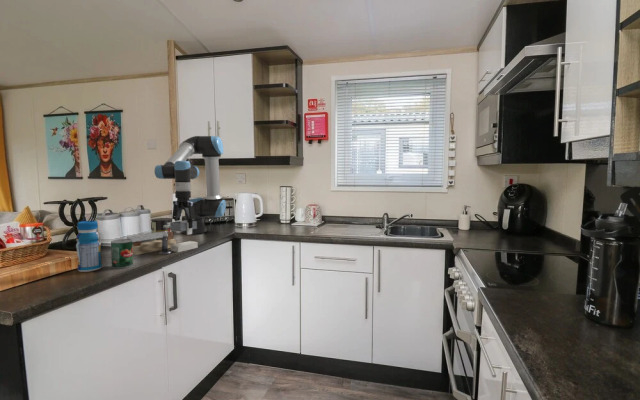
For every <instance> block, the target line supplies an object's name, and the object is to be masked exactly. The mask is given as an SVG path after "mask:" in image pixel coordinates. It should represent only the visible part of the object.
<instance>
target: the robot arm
mask: <svg viewBox="0 0 640 400" xmlns="http://www.w3.org/2000/svg"><path fill="white" fill-rule="evenodd" d="M223 154H224V144H223V142H222V139H221V137H220V136H216V135H207V136H206V135H194V136H191V137H189V138H187V139H185V140H183V141H182V142H181V143H180V144H179V145H178V149H177V150H175V152H174V153H173V154H172V155H171V156H170V157H169V158H168V159H167V161H165V163H163V164H158V165H157V164H156V165H155V167H154V170H153V171H154V175H155V178H157V179H161V180H173V179H174V184H175V185H174V189H175V192H174V196H175V197H174V198H175V199H176V200H173V201H172V205H173V207H172V217H171V220H174V222H177V221H182V219H181V217H182V213H183V211H184V220H187V230H186V231H175V233H176V234H181V233H182V234H184V235H187V236H188V235H196V234H197V235H198V234H204V233H206V232H207V227H206V225H205V222H204V218H220V217H223V216H224V215H225V213H226V208H227V202H226V200H225V199H224V198H223V196H222V195H221V186H220V185H221V184H220V164H219V160H220V158H221V156H222V155H223ZM194 155H201V156H202V158H203V160H204V166H205V167H204V170H205V184H206V186H205V188H206V196H205V197H204V198H203V197H197V198H191V197H192V195H191V194H192V191H191V189H192V184H191V180H194V179H197V178H198V177H199V175H200V169H199V168H198V167H197V166H196V165H193V164H191V163H190V161H189V160H188V159H189V157H192V156H194ZM193 221H197V229H192V227H193V226H192V222H193Z"/></svg>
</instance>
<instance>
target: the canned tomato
mask: <svg viewBox="0 0 640 400" xmlns="http://www.w3.org/2000/svg"><path fill="white" fill-rule="evenodd" d="M132 245H133V242H132V240H131V239H127V238H120V239H115V240H111V241H110V249H111V251H110V252H111V253H110V254H111V268H112V269H125V268H129V267H132V266H133V265H134V254H133V251H132Z"/></svg>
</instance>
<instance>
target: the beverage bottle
mask: <svg viewBox="0 0 640 400" xmlns="http://www.w3.org/2000/svg"><path fill="white" fill-rule="evenodd" d="M76 227H77V231H78V234H77V235H76V238H75V241H76V244H75V248H76V255H77V257H76V258H77V271H78V272H81V273H83V272H84V273H88V272H94V271H97V270H100V269H101V268H102V254H101V253H102V251H101V246H102V242H101V235H100V234H99V232H98V231H97V230H98V228H99V225H98V221H97V220H85V221H79V222H77V226H76Z"/></svg>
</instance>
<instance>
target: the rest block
mask: <svg viewBox="0 0 640 400" xmlns="http://www.w3.org/2000/svg"><path fill="white" fill-rule="evenodd" d="M198 245H199V244H198V241H193V240H188V241H184V242H183V241H182V242H179V243H176V244H174V245H171V248H170V251H172V252H175V253H181V252H186V251H189V250H190V251H191V250H194V249H197V248H199V246H198Z"/></svg>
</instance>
